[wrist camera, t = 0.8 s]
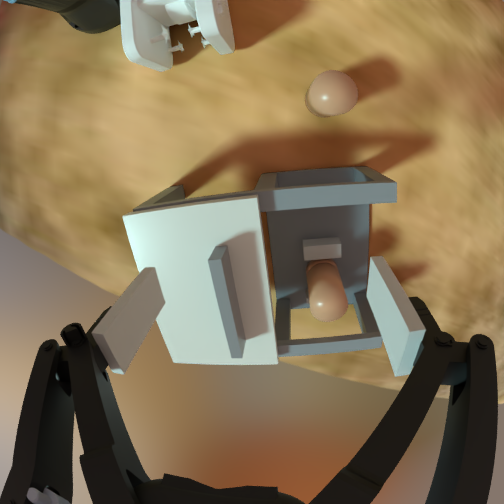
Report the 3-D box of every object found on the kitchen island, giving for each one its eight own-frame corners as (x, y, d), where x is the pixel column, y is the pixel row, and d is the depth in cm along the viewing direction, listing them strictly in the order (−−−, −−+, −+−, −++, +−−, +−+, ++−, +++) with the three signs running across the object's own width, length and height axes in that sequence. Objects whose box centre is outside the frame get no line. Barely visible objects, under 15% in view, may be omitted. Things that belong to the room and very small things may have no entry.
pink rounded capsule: (302, 84, 31) (308, 71, 22) (338, 83, 30) (354, 70, 22) (307, 118, 32) (314, 115, 24) (342, 116, 32) (360, 113, 24)
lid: (128, 212, 28) (107, 226, 24) (258, 194, 26) (253, 207, 22) (176, 356, 37) (167, 378, 33) (278, 357, 34) (276, 382, 31)
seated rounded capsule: (305, 257, 40) (309, 291, 32) (337, 254, 39) (348, 288, 31) (306, 285, 42) (310, 323, 34) (337, 282, 41) (347, 319, 33)
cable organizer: (156, -7, 25) (117, -37, 15) (226, -27, 24) (206, -68, 13) (165, 74, 31) (121, 60, 21) (241, 56, 30) (223, 28, 19)
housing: (169, 186, 38) (132, 209, 28) (366, 166, 34) (396, 182, 24) (200, 310, 47) (180, 356, 37) (364, 300, 43) (381, 347, 33)
